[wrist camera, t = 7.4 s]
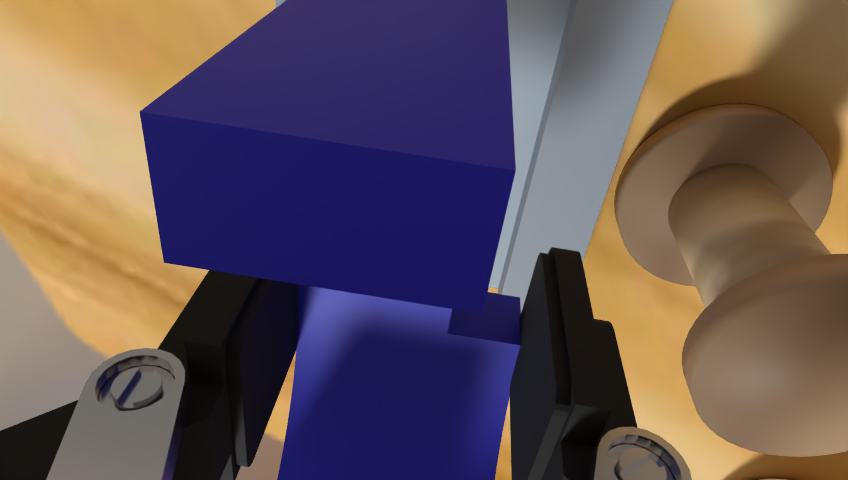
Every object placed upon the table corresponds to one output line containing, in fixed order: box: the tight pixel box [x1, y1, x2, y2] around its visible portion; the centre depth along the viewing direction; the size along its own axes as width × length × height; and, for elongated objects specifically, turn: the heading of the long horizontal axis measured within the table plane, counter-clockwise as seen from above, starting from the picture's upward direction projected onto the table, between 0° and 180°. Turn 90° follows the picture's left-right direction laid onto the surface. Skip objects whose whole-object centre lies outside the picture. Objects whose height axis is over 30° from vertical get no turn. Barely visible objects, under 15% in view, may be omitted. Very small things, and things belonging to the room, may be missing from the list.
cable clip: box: [140, 0, 521, 480], centre depth 11 cm, size 12×4×6 cm, turn 173°
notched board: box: [276, 0, 674, 312], centre depth 20 cm, size 11×14×2 cm
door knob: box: [614, 104, 848, 457], centre depth 18 cm, size 7×7×9 cm
